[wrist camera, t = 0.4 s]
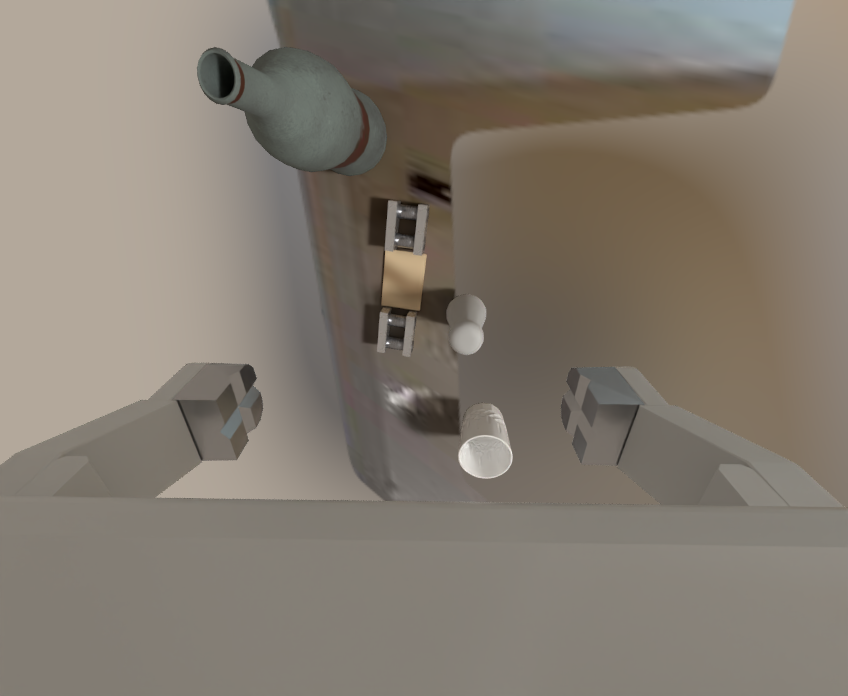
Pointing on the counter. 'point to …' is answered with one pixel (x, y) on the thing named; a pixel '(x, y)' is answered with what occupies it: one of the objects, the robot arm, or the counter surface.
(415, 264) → the pad
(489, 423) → the white cup
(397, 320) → the chain end
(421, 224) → the chain end
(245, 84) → the bottle
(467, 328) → the salt shaker
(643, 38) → the counter surface
